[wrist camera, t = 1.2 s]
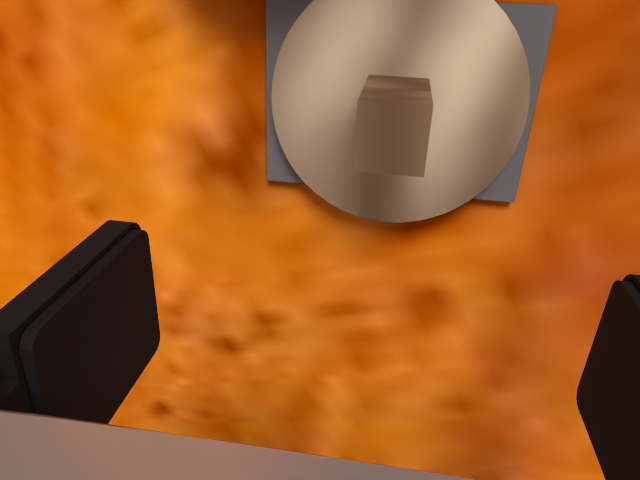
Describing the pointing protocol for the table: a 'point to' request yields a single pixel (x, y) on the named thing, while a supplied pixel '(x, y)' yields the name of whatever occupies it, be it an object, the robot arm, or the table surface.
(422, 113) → the lid
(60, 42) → the table surface
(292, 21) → the mat
